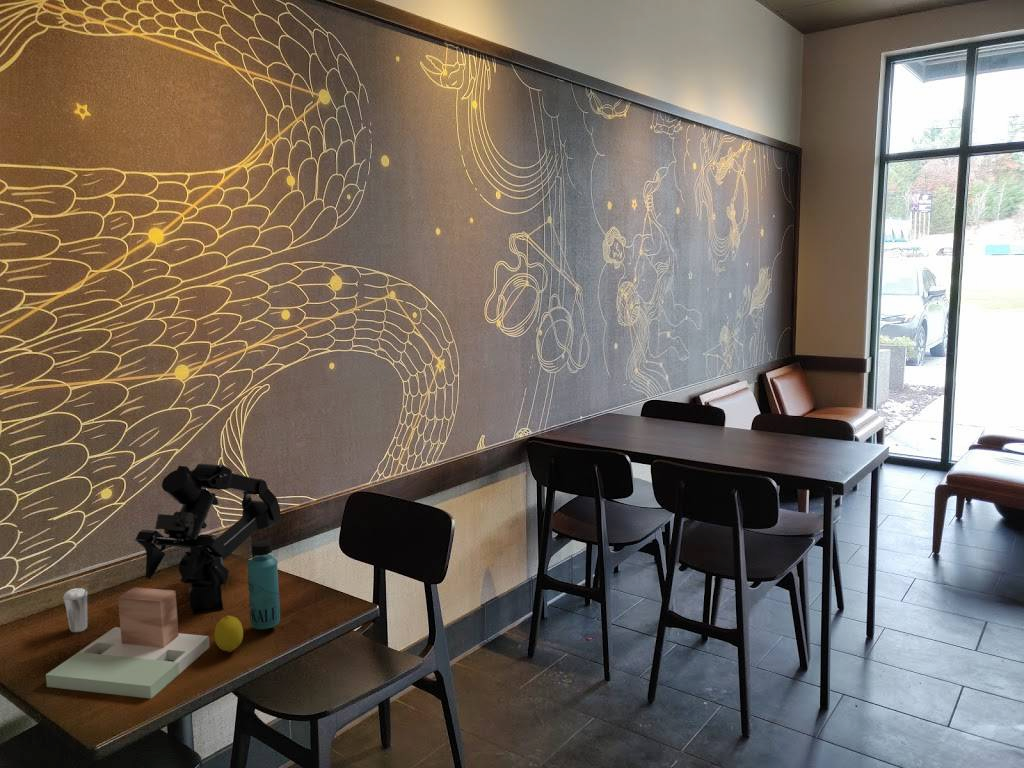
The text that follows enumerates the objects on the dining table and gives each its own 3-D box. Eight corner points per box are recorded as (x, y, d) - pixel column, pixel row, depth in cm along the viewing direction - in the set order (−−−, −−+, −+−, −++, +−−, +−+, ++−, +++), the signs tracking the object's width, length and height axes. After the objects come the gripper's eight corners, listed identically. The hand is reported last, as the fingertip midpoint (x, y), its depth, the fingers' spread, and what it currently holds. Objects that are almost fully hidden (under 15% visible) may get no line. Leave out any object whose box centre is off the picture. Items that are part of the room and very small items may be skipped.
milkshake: (83, 635, 162) (78, 591, 161) (61, 633, 163) (57, 589, 162) (98, 625, 167) (94, 583, 165) (77, 623, 168) (73, 580, 166)
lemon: (227, 661, 152) (225, 624, 150) (209, 654, 155) (207, 617, 153) (249, 649, 156) (247, 613, 155) (232, 642, 159) (230, 607, 158)
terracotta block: (137, 631, 159) (134, 587, 157) (178, 635, 157) (175, 590, 155) (121, 643, 154) (117, 597, 152) (163, 647, 152) (160, 601, 151)
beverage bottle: (269, 619, 170) (264, 534, 166) (288, 627, 166) (283, 541, 163) (244, 630, 164) (238, 543, 161) (262, 639, 161) (258, 550, 157)
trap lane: (115, 638, 161) (114, 627, 161) (209, 647, 157) (208, 636, 157) (46, 686, 143) (45, 674, 142) (151, 698, 139) (150, 686, 138)
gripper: (137, 494, 165) (105, 561, 156) (214, 499, 161) (185, 568, 152) (163, 517, 173) (134, 582, 164) (236, 523, 170) (210, 589, 161)
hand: (164, 580), depth 160 cm, fingers open, 8 cm apart
